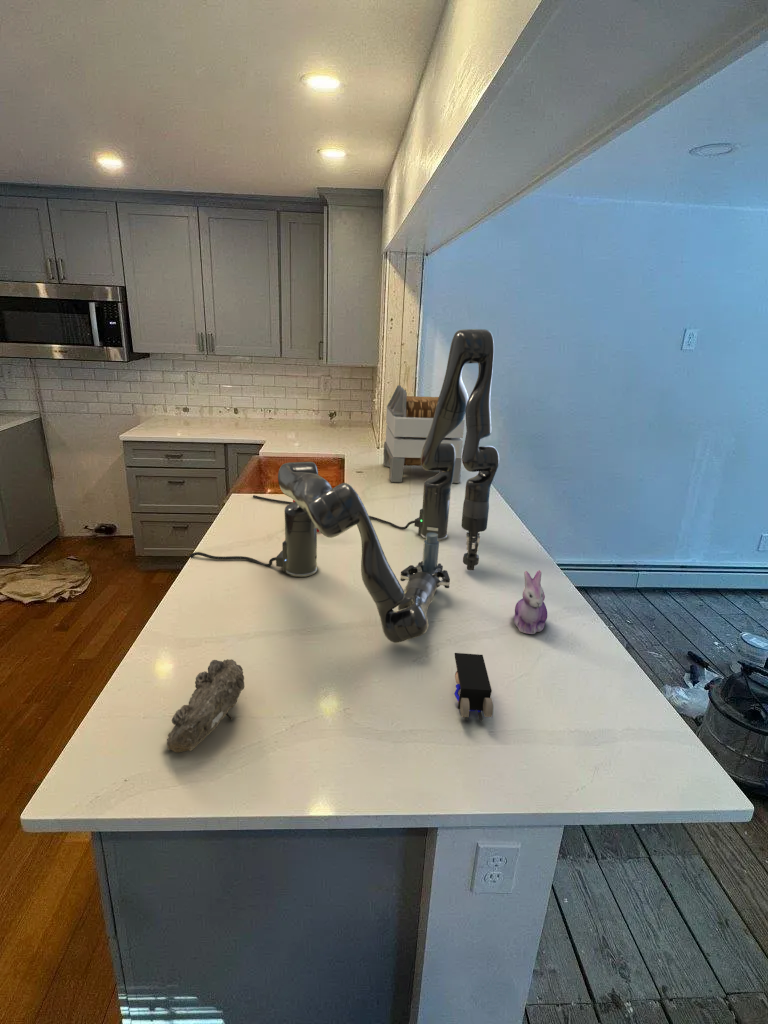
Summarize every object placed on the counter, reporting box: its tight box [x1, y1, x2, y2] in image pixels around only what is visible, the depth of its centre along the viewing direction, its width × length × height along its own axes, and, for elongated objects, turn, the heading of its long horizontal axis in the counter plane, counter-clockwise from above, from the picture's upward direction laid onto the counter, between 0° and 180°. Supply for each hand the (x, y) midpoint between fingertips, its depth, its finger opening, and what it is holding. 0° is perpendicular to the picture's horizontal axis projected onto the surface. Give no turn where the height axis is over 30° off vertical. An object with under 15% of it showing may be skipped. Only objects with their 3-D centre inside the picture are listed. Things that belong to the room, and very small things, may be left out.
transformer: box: [383, 384, 466, 484], centre depth 268 cm, size 34×33×41 cm
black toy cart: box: [454, 652, 494, 722], centre depth 114 cm, size 7×8×15 cm
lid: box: [462, 552, 480, 567], centre depth 172 cm, size 5×5×2 cm
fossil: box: [166, 658, 245, 754], centre depth 106 cm, size 22×10×15 cm
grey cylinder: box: [422, 532, 440, 573], centre depth 158 cm, size 4×4×17 cm
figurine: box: [513, 569, 548, 635], centre depth 142 cm, size 9×10×15 cm
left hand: (431, 565), depth 161 cm, fingers closed on grey cylinder, 4 cm apart
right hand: (470, 565), depth 172 cm, fingers closed on lid, 4 cm apart
